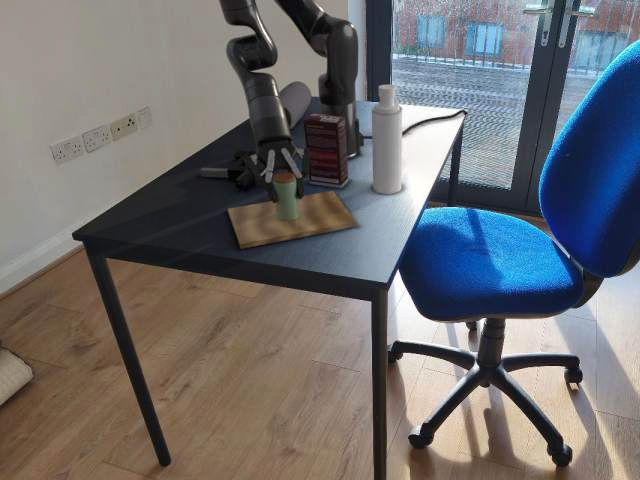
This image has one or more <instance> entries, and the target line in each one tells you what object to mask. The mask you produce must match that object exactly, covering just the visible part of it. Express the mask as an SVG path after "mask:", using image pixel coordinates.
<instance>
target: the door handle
mask: <svg viewBox="0 0 640 480" xmlns="http://www.w3.org/2000/svg"><path fill="white" fill-rule="evenodd" d="M256 152H257V150H248V149H247V150H246V149H245V150H244V149H238V150H236V151H235V152H234V155H233V157H234V159H235V160H236V162H234V163H233V164H232V165H230V167H228V168H221V167H202V168H201V169H199V174H200V177H202V178H204V177H205V178H223V179H224V178H225V179H228V181H229V182H234V187H235V189H237V190H240V191H242V190H245V189H247V188H248V187H249V186H250V185H251V184H252V183H253V182H254V180H253V178H252V176H251V174H250V172H249V170H248V169H247V167H246V165H245V156H246V155H249V156H252V155H255V154H256ZM256 168H257V169H258V171H259V173H260V175H261V177H263V176H264V175H265V174H266V170H267V167H266V166H264V165H263V164H262V163H261V162H260V161H259V160H257V165H256Z"/></svg>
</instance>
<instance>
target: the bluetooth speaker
mask: <svg viewBox="0 0 640 480" xmlns="http://www.w3.org/2000/svg"><path fill="white" fill-rule="evenodd" d="M279 95H280V99H281V102H282V105H283V107H284V110H285V114H286V118H287V122H288V126H289V130H291V129H293V128H294V127H295V125H296V124H297V123H298V121H300V119H301V118H302V117H303V115H305V112H306V111H307V109H308V108H309V106H310V104H311V101H312V91H311V89H310V88H309V86H308V85H307V84H306V83H304V82H302V81H298V80H296V81H292V82H290V83H288V84H287V85H286V86H285V87H284V88H282V89H281V90H280V91H279Z"/></svg>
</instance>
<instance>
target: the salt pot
mask: <svg viewBox="0 0 640 480" xmlns="http://www.w3.org/2000/svg"><path fill="white" fill-rule="evenodd" d="M271 182H272V183H273V185H274V189H275V193H276V197H277V203H275V207H276V215H277V218H278V219H279V220H283V221H291V220H295V219H297V218H298V217H299V205H298V194H297V183H296V177H295V175H294V174H293V173H291V172H288V171H279V172H276V173H275V174H274V175H272V180H271Z"/></svg>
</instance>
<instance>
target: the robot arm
mask: <svg viewBox="0 0 640 480" xmlns="http://www.w3.org/2000/svg"><path fill="white" fill-rule="evenodd" d="M273 1H274V3H275V4H276V5H277V6H278V7H279V8H280V9H281V10H282V12H283V13H284V14H285V15H286V16H287V17H288V18H289V19H290V20H291V21H292V23H293V24H294V26H295V28H296V29H297V30H298V31H299V33H300V34H301V36H302V38H303V39H304V40H305V42H306V43H307V45H308V46H309V48H310V49H311V50H312V51H313V52H314V53H315V54H316V55H317V56H320V57H321V58H324V59H326V72H324V73H322V74H321V75H319V76H318V77H317V87H318V100H319V102H318V103H319V114H323V115H333V116H342V117H345V126H346V145H347V160H351V159H353V158H355V157H357V156H361V147H364V146H365V140H372V135H364V134H363V133H362V132H360V120H359V118H358V117H357V97H356V96H357V94H356V82H357V79H358V74H359V53H360V52H359V49H360V48H359V35H358V31H357V29H356V27H355V25H354V24H353V23H352V22H351V21H349V20H347V19H344V18H340V17H334V16H331V15H329V14H328V13H327V12H326V11H325V10H324V9H323V8H322V7H321V5H320V4H319V3H318V2H317V1H316V0H273ZM218 2H219V5H220V9H221V12H222V15H223V18H224V20H225V22H226V24H227V25H230V26H232V27H247V28H250V29H251V30H252V31H253V32H254V33H252V34H245V35H242V36H236V37H233V38H231V39H230V40H228V42H227V44H226V47H225V54H226V57H227V60H228V63H229V64H230V65H231V66H230V67H232V69H233V71H234V72H235V74H236V75H237V77H238V79H239V82H240V83H241V86H242V88H243V89H242V90H243V92H244V96H245V100H246V105H247V108H248V109H247V110H248V118H249V124H250V128H251V130H252V134H253V138H254V142H255V143H254V144H255V146H256V151H257V152H256V154H255V155H252V156H249V155H246V156H245V166H246V167H247V169H248V170H249V172H250V174H251V176H252V178H253V180H254V181H253V182H254V183H255V185H256V186H263V187H264V188H265V190H266V194H267V199H268V200H269V202H270V201H272V202H273V203H277V197H276V193H275V189H274V185H273V182H272V179H273V172H277V171H281V170H282V171H285V170H287V171H286V172H291V173H293V174H294V175H295V177H296V183H297V194H298V199H302V198H303V196H305V193H306V189H305V186H304V181H303V180H306V179H309V172H310V149H309V148H307V147H306V146H305V147H304V148H297V146H296V145H295V144H294V142H293V138H292V133H291V129H289V126H288V122H287V118H286V114H285V110H284V107H283V105H282V102H281V99H280V95H279V92H280V91H279V87H278V83H277V80H276V77H274V76H273V75H272V74H271V73H268V72H259V71H261V70H264V69H268V68H269V69H270V68H272V67H274V66H275V65H276V64H277V62H278V59H279V51H278V47H277V45H276V42H275V41H274V39H273V37H272V35H271V34H270V32H269V30H268V29H267V27H266V25H265V23H264V21H263V19H262V17H261V14H260V12H259V8H258V6H257V2H256V0H218ZM257 71H258V72H257ZM461 114H464V115H469V112H468V111H467V110H465V109H460V110H458V111H457V112H455V113H453V114H450V115H443V116H436V117H431V118H426V119H423V120H420V121H418V122H416V123H413V124H411V125H409V126H407V128H406V129H405V130H402V137H403V136H405V135H406V134H407V133H409V132H410V131H411V130H412V129H414V128H416V127H419V126H421V125H423V124H426V123H430V122H435V121H441V120H449V119H453V118H456V117H457V116H459V115H461ZM296 156H298V157H299V160H300V161H302V167H301V168H302V171H300V170H299V168H298V166H297V163H296V162H295V158H296ZM257 160H259V161H260V162H261V163H262V164H263V165H264V166H266V167H267V170H266V172H265V176H261V175H260V173H259V171H258V169H257V168H256V165H257Z"/></svg>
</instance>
